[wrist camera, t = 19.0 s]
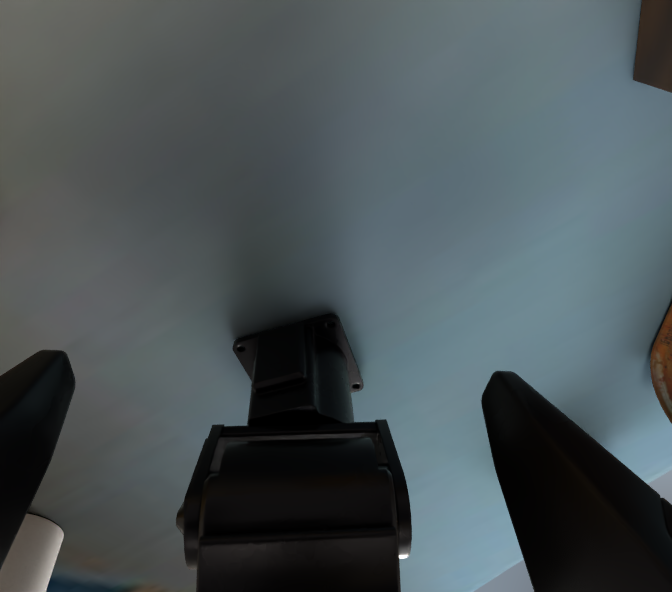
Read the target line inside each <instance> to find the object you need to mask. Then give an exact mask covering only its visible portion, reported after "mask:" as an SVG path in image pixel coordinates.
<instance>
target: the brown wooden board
mask: <svg viewBox="0 0 672 592" xmlns="http://www.w3.org/2000/svg"><path fill="white" fill-rule="evenodd" d="M633 80H635V81H638V82H641V83H644V84H647V85H650V86H653V87H656V88H659V89H662V90H665V91H668V92H671V93H672V0H642V5H641V14H640V23H639V32H638V41H637V50H636V59H635V68H634V77H633Z"/></svg>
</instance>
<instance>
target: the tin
mask: <svg viewBox="0 0 672 592" xmlns="http://www.w3.org/2000/svg"><path fill="white" fill-rule="evenodd" d="M650 369H651V378H652V383H653V387H654V390H655V393H656V395H657V398H658V400H659V402H660V405H661V407H662V408H663V410H664V412H665V414H666V415H667V417H668V419H669V420H670V422H671V423H672V304H671V306H670V309H669V311H668V313H667V315H666V318H665V320H664V322H663V324H662V327H661V329H660V331H659V334H658V336H657V338H656V340H655V343H654V345H653V349H652V352H651V360H650Z"/></svg>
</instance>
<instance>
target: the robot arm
mask: <svg viewBox="0 0 672 592" xmlns="http://www.w3.org/2000/svg"><path fill="white" fill-rule="evenodd" d="M331 321H332V322H334V323H332V324H329V323H328V322H331ZM239 346H244V347H239ZM233 351H234V353H235V354H236V356H237V358H238V359H239V361H240V363H241V364H242V366H243V367H244V369H245V371H246V372H247V374H248V376H249V377H250V379H251V380H252V390H251V398H250V406H249V415H248V423H247V426H224V424H223V425H212V428H211V431H210V434H209V436H208V438H206V440H205V442H204V445H203V448H202V451H201V453H200V456H199V459H198V462H197V465H196V467H195V470H194V473H193V476H192V479H191V481H190V484H189V487H188V490H187V493H186V496H185V499H184V502H183V504H182V506H181V507H180V509H179V511H178V513H177V518H176V526H177V528H178V529H179V530H180V531H181V533H182V534H183V535H184V551H185V560H186V564H187V567H188V568H189V569H197V588H196V592H401V589H400V568H399V558H408V556H409V555H410V550H411V540H412V526H411V511H410V502H409V495H408V489H407V484H406V480H405V476H404V472H403V469H402V466H401V463H400V460H399V457H398V454H397V451H396V448H395V445H394V442H393V439H392V436H391V433H390V430H389V427H388V424H387V421H386V420H375V422H354V416H353V407H352V398H351V393H352V392H356V391H359V390H361V389H362V388H363V379H362V377H361V374H360V371H359V369H358V366H357V364H356V361H355V358H354V356H353V353H352V351H351V348H350V345H349V343H348V340H347V338H346V335H345V332H344V330H343V327H342V325H341V322H340V319H339V317H338V316H337V315H335V314H326V315H323V316H319V317H315V318H312V319H308V320H304V321H301V322H297V323H293V324H290V325H286V326H282V327H278V328H275V329H271V330H267V331H264V332H260V333H256V334H253V335H249V336H245V337H242V338H238V339H236V340H235V341H234V344H233ZM74 390H75V377H74V374H73V371H72V368H71V364H70V361H69V358H68V356H67V354H66V353H65V352H64V351H61V350H41V351H39V352H37V353H35V354H34V355H32V356H31V357H29V358H28V359H26V360H24V361H23V362H21V363H20V364H18V365H17V366H15V367H14V368H12V369H10V370H9V371H7V372H6V373H4V374H3V375H1V376H0V570H1V568H2V565H3V563H4V561H5V559H6V557H7V555H8V553H9V550H10V548H11V546H12V544H13V542H14V540H15V537H16V535H17V533H18V531H19V529H20V527H21V525H22V522H23V520H24V518H25V516H26V514H27V512H28V509H29V507H30V505H31V503H32V501H33V499H34V497H35V494H36V492H37V490H38V488H39V486H40V484H41V481H42V479H43V477H44V475H45V473H46V470H47V468H48V466H49V464H50V461H51V459H52V456H53V453H54V450H55V447H56V444H57V441H58V438H59V435H60V432H61V429H62V426H63V423H64V420H65V417H66V414H67V411H68V408H69V405H70V402H71V399H72V396H73V393H74ZM482 409H483V414H484V419H485V424H486V428H487V433H488V438H489V443H490V448H491V453H492V457H493V462H494V466H495V470H496V473H497V477H498V480H499V483H500V486H501V489H502V492H503V495H504V499H505V502H506V505H507V508H508V511H509V514H510V517H511V520H512V524H513V527H514V530H515V533H516V536H517V539H518V542H519V545H520V549H521V552H522V555H523V558H524V561H525V564H526V567H527V570H528V573H529V576H530V580H531V583H532V586H533V589H534V592H672V505H671V504H670V503H669V502H668V501H667V500H665V499H664V498H660V495H659V494H658V493H657V492H656V491H655V490H653V489H652V488H651V487H650V486H649V485H647V484H646V483H645V482H644V481H643V480H642V479H640V478H639V477H638V476H637V475H636V474H634V473H633V472H632V471H631V470H630V469H628V468H627V467H626V466H625V465H624V464H623V463H621V462H620V461H619V460H618V459H617V458H615V457H614V456H613V455H612V454H611V453H609V452H608V451H607V450H606V449H605V448H604V447H602V446H601V445H600V444H599V443H598V442H596V441H595V440H594V439H593V438H592V437H591V436H589V435H588V434H587V433H586V432H585V431H583V430H582V429H581V428H580V427H579V426H577V425H576V424H575V423H574V422H573V421H572V420H570V419H569V418H568V417H567V416H566V415H564V414H563V413H562V412H561V411H560V410H558V409H557V408H556V407H555V406H554V405H553V404H551V403H550V402H549V401H548V400H547V399H545V398H544V397H543V396H542V395H541V394H539V393H538V392H537V391H536V390H535V389H534V388H532V387H531V386H530V385H529V384H528V383H526V382H525V381H524V380H523V379H522V378H521V377H519V376H518V375H517V374H516V373H514V372H511V371H496V372H494V373H493V374H492V376H491V378H490V380H489V382H488V384H487V386H486V388H485V390H484V392H483V395H482Z"/></svg>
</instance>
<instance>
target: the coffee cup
mask: <svg viewBox="0 0 672 592" xmlns="http://www.w3.org/2000/svg"><path fill="white" fill-rule="evenodd" d="M63 537H64V534H63V531H62V529H61V528H60V527H59V526H58V525H56V524H55V523H53V522H52V521H50V520H48V519H45V518H43V517H39V516H36V515H32V514H26V516H25V518H24V520H23V522H22V525H21V527H20V529H19V531H18V533H17V535H16V537H15V540H14V542H13V544H12V546H11V548H10V550H9V553H8V555H7V557H6V559H5V561H4V563H3V565H2V568H1V570H0V592H46V589H47V586H48V583H49V580H50V577H51V574H52V571H53V568H54V564H55V561H56V558H57V555H58V552H59V549H60V546H61V543H62V540H63Z"/></svg>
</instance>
